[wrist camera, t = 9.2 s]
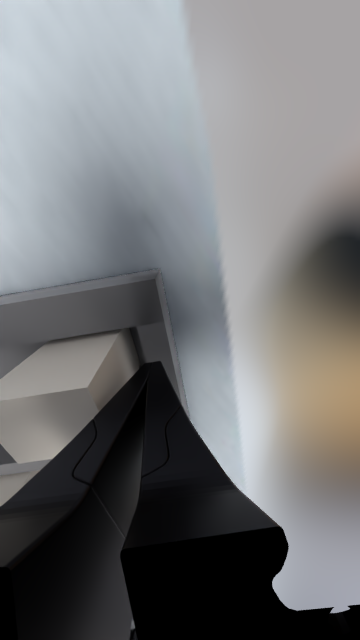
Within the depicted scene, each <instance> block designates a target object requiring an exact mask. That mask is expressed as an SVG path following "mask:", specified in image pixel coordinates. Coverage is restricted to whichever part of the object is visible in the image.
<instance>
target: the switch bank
mask: <svg viewBox="0 0 360 640" xmlns="http://www.w3.org/2000/svg"><path fill="white" fill-rule="evenodd" d="M123 328H129V329H130V332H131V336H132V339H133V342H134V345H135V349H136V352H137V355H138V358H139V362H140V367H141V366H142V365H143V364H144V363H148V362H155V361H161V362H162V364H163V366H164V368H165V370H166V372H167V374H168V376H169V378H170V381H171V383H172V385H173V387H174V389H175V391H176V393H177V395H178V397H179V399H180V401H181V403H182V406H183V407H184V410H185V412H186V414H187V416H188V417H189V419H190V416H189V411H188V406H187V401H186V396H185V391H184V386H183V381H182V376H181V371H180V366H179V361H178V356H177V351H176V346H175V341H174V336H173V331H172V326H171V321H170V316H169V310H168V305H167V300H166V295H165V290H164V285H163V280H162V275H161V270H160V269H154V270H148V271H142V272H136V273H131V274H125V275H119V276H113V277H107V278H101V279H95V280H90V281H84V282H78V283H72V284H66V285H60V286H55V287H49V288H43V289H37V290H31V291H25V292H20V293H14V294H8V295H2V296H0V379H1V378H3V377H4V376H5V375H6V374H8V373H9V372H10V371H11V370H13V369H14V368H15V367H16V366H18V365H19V364H20V363H22V362H23V361H24V360H25V359H27V358H28V357H29V356H30V355H32V354H33V353H34V352H35V351H37V350H38V349H39V348H41V347H42V346H43V345H44V344H46V343H47V342H48V341H49V340H55V339H61V338H68V337H74V336H80V335H86V334H92V333H98V332H104V331H111V330H117V329H123ZM140 367H139V368H140ZM51 460H52V459H48V460H41V461H34V462H27V463H21V464H18V463H17V462H16V461H15V460H14V459H13V457H12V456H11V455H10V454H9V453H8V452H7V451H6V450H5V449H4V447H3V446H2V445H1V444H0V476H2V475H9V474H16V473H23V472H30V471H37V470H41V469H42V468H43V467H44V466H45V465H46V464H47V463H49V462H50V461H51Z"/></svg>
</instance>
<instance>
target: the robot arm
mask: <svg viewBox="0 0 360 640" xmlns="http://www.w3.org/2000/svg"><path fill="white" fill-rule="evenodd" d="M288 547H289V546H288V542H287V540H286V536H285V533H284V530H283V529H282V528H281V527H280V526H279V525H278V524H277V523H276V522H275V521H273V520H272V519H271V518H270V517H269V516H268V515H267V514H266V513H265V512H263V511H262V510H261V509H260V508H259V507H258V506H257V505H256V504H254V503H253V502H252V501H251V500H250V499H249V498H248V497H247V496H246V495H244V494H243V493H242V492H241V491H240V490H239V489H238V488H237V487H236V486H235V484H234V483H233V482H232V481H231V480H230V478H229V477H228V476H227V474H226V473H225V472H224V470H223V469H222V468H221V466H220V465H219V463H218V462H217V460H216V459H215V458H214V456H213V455H212V453H211V452H210V450H209V449H208V447H207V446H206V445H205V443H204V442H203V440H202V439H201V437H200V436H199V434H198V433H197V431H196V430H195V428H194V426H193V425H192V423H191V421H190V419H189V417H188V416H187V414H186V412H185V410H184V407H183V406H182V403H181V401H180V399H179V397H178V395H177V393H176V391H175V389H174V387H173V385H172V383H171V381H170V378H169V376H168V374H167V372H166V370H165V368H164V366H163V364H162V362H161V361H155V362H148V363H144V364H143V365H142V366H141V367H140V368H139V370H138V371H137V372H136V373H135V374H134V375H133V376H132V377H131V378H130V379H129V380H128V381H127V382H126V383H125V384H124V386H123V387H122V388H121V389H120V390H119V391H118V392H117V393H116V394H115V395H114V396H113V397H112V398H111V399H110V401H109V402H108V403H107V404H106V405H105V406H104V407H103V408H102V409H101V410H100V411H99V412H98V413H97V414H96V415H95V417H94V419H92V420H91V421H90V422H89V423H88V424H87V425H86V426H85V427H84V428H83V429H82V430H81V431H80V432H79V433H78V434H77V435H76V436H75V437H74V438H73V440H72V441H70V442H69V443H68V444H67V445H66V446H65V447H64V448H63V449H62V450H61V451H60V452H59V453H58V454H57V455H56V456H55V457H54V458H53V459H52V460H51V461H50V462H49V463H47V464H46V465H45V466H44V467H43V468H42V469H41V470H40V471H39V472H38V473H37V474H36V475H35V476H34V477H33V478H31V479H30V480H29V481H28V482H27V483H26V484H25V485H24V486H23V487H22V488H21V489H20V490H19V491H18V492H17V493H15V494H14V495H13V496H12V497H11V498H10V499H9V500H8V501H7V502H5V503H4V504H3V505H2V506H0V640H360V605H351V606H348V607H349V608H350V609H349V610H347V611H343V612H339V613H330V612H331V610H332V609H333V608H334V607H332V608H321V609H311V610H301V611H296V610H292V609H289V608H287V607H286V606H285V605H284V604H283V603H282V602H281V601H280V600H279V598H278V596H277V595H276V593H275V592H274V589H273V587H272V581H273V578H274V577H275V576H276V574H278V573H279V572H280V571H281V569H282V567H283V565H284V562H285V560H286V557H287V552H288Z"/></svg>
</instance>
